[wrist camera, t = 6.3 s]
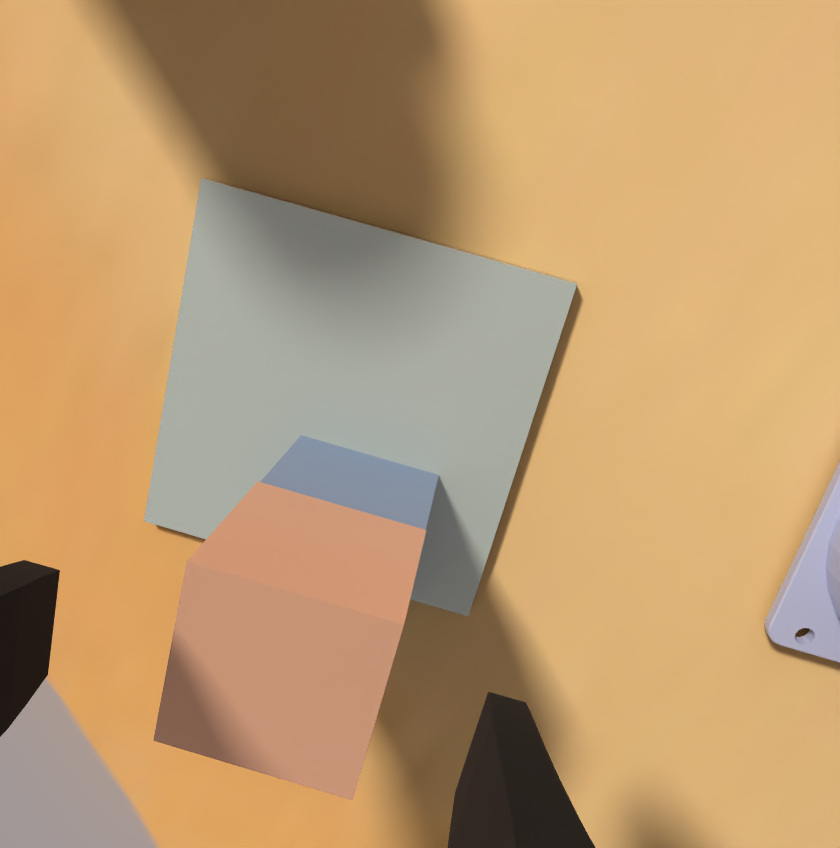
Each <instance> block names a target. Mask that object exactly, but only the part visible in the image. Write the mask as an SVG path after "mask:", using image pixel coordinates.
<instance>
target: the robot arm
mask: <svg viewBox="0 0 840 848" xmlns="http://www.w3.org/2000/svg"><path fill="white" fill-rule="evenodd" d="M59 572H60V570H57V569H54V568H50V567H47V566H43V565H40V564H36V563H32V562H29V561H25V560H23V561H20V562H16V563H12V564H8V565H5V566H2V567H0V736H1V735H2V734H3V733H4V732H5V731H6V730H7V729H8V728H9V726H10V725H11V724H12V722H13V721H14V720H15V719H16V717H17V716H18V714H19V713H20V712H21V711H22V709H23V708H24V707H25V705H26V704H27V703H28V701H29V700H30V699H31V697H32V696H33V694H34V693H35V691H36V690H37V689H38V688H39V686H40V685H41V683H42V682H43V680H44V679H45V678H46V676H47V675H48V668H49V660H50V651H51V642H52V634H53V625H54V616H55V607H56V599H57V590H58V581H59ZM764 626H765V630H766V633H767V634H768V636H769V637H770V639H771V640H772V641H773V642H774V643H776V644H778V645H780V646H784V647H787V648H791V649H794V650H797V651H801V652H804V653H808V654H811V655H815V656H818V657H821V658H825V659H828V660H832V661H835V662H839V663H840V462H839V464H838V466H837V468H836V470H835V473H834V475H833V477H832V479H831V481H830V483H829V485H828V487H827V490H826V492H825V494H824V496H823V498H822V500H821V502H820V505H819V507H818V509H817V511H816V513H815V515H814V517H813V520H812V522H811V524H810V526H809V528H808V530H807V532H806V534H805V537H804V539H803V541H802V543H801V545H800V547H799V549H798V552H797V554H796V556H795V558H794V560H793V562H792V564H791V567H790V569H789V571H788V573H787V575H786V577H785V579H784V581H783V584H782V586H781V588H780V590H779V592H778V594H777V596H776V599H775V601H774V603H773V605H772V607H771V609H770V611H769V614H768V616H767V618H766V620H765V625H764ZM802 628H809V632H808V633H807V634H806V635H804V636H802V637H795V634H796V632H797V631H798V630H800V629H802ZM448 848H595V846H594V844H593V843H592V841H591V839H590V837H589V836H588V834H587V832H586V830H585V828H584V826H583V824H582V823H581V821H580V819H579V817H578V815H577V813H576V811H575V809H574V807H573V805H572V803H571V801H570V799H569V797H568V795H567V793H566V791H565V789H564V787H563V785H562V783H561V781H560V779H559V776H558V774H557V772H556V770H555V768H554V766H553V763H552V761H551V759H550V757H549V754H548V752H547V750H546V748H545V745H544V743H543V741H542V738H541V736H540V734H539V731H538V729H537V726H536V724H535V722H534V719H533V717H532V714H531V712H530V710H529V708H528V706H527V704H526V703H525V702H522V701H518V700H515V699H511V698H508V697H504V696H501V695H497V694H494V693H490V692H488V695H487V698H486V701H485V704H484V707H483V710H482V713H481V716H480V719H479V722H478V725H477V728H476V731H475V734H474V737H473V740H472V743H471V746H470V749H469V752H468V755H467V758H466V761H465V764H464V767H463V770H462V774H461V777H460V780H459V783H458V786H457V789H456V792H455V798H454V805H453V812H452V819H451V826H450V833H449V841H448Z"/></svg>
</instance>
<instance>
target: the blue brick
mask: <svg viewBox="0 0 840 848" xmlns="http://www.w3.org/2000/svg"><path fill="white" fill-rule="evenodd" d="M438 476H439V475H437V474H434V473H430V472H427V471H423V470H420V469H416V468H413V467H409V466H406V465H403V464H399V463H396V462H392V461H389V460H385V459H382V458H378V457H375V456H371V455H368V454H365V453H361V452H358V451H354V450H351V449H347V448H344V447H340V446H337V445H333V444H330V443H327V442H323V441H320V440H316V439H313V438H309V437H306V436H302V435H301V436H300V437H299V438H298V439H297V441H296V442H295V443H294V444H293V445H292V446H291V447H290V448H289V450H288V451H287V452H286V453H285V454H284V455H283V456H282V458H281V459H280V460H279V461H278V462H277V463H276V464H275V466H274V467H273V468H272V469H271V470H270V471H269V472H268V474H267V475H266V476H265V477H264V478H263V479H262V480H261V481H260V482H262V483H265V484H269V485H272V486H276V487H279V488H283V489H286V490H289V491H293V492H296V493H300V494H303V495H307V496H310V497H314V498H317V499H321V500H324V501H328V502H331V503H334V504H338V505H341V506H345V507H348V508H352V509H355V510H359V511H362V512H366V513H369V514H373V515H376V516H379V517H383V518H386V519H390V520H393V521H397V522H400V523H404V524H407V525H411V526H414V527H418V528H421V529H424V530H426V526H427V522H428V518H429V514H430V510H431V506H432V501H433V497H434V493H435V489H436V485H437V481H438Z"/></svg>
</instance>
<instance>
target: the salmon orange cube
mask: <svg viewBox="0 0 840 848" xmlns="http://www.w3.org/2000/svg"><path fill="white" fill-rule="evenodd" d="M425 534H426V530H424V529H421V528H418V527H414V526H411V525H407V524H404V523H400V522H397V521H393V520H390V519H386V518H383V517H379V516H376V515H373V514H369V513H366V512H362V511H359V510H355V509H352V508H348V507H345V506H341V505H338V504H334V503H331V502H328V501H324V500H321V499H317V498H314V497H310V496H307V495H303V494H300V493H296V492H293V491H289V490H286V489H283V488H279V487H276V486H272V485H269V484H265V483H262V482H257V483H256V484H255V485H254V486H253V487H252V488H251V490H250V491H249V492H248V493H247V494H246V495H245V496H244V497H243V499H242V500H241V501H240V502H239V503H238V504H237V505H236V506H235V508H234V509H233V510H232V511H231V512H230V513H229V514H228V515H227V517H226V518H225V519H224V520H223V521H222V522H221V523H220V524H219V525H218V527H217V528H216V529H215V530H214V531H213V532H212V533H211V534H210V536H209V537H208V538H207V539H206V540H205V541H204V542H203V543H202V545H201V546H200V547H199V548H198V549H197V550H196V551H195V552H194V554H193V555H192V556H191V557H190V558H189V559H188V560H187V563H186V569H185V574H184V580H183V585H182V590H181V596H180V601H179V606H178V612H177V617H176V623H175V628H174V633H173V639H172V644H171V649H170V655H169V660H168V665H167V671H166V676H165V682H164V687H163V692H162V698H161V703H160V708H159V714H158V719H157V724H156V730H155V735H154V741H157V742H160V743H163V744H167V745H170V746H173V747H177V748H180V749H183V750H187V751H190V752H193V753H197V754H200V755H203V756H207V757H210V758H213V759H217V760H220V761H223V762H227V763H230V764H233V765H237V766H240V767H243V768H247V769H250V770H253V771H257V772H260V773H263V774H267V775H270V776H273V777H277V778H280V779H283V780H287V781H290V782H293V783H297V784H300V785H303V786H307V787H310V788H313V789H317V790H320V791H323V792H327V793H330V794H333V795H337V796H340V797H343V798H347V799H350V800H353V796H354V793H355V790H356V786H357V783H358V779H359V776H360V773H361V769H362V766H363V762H364V759H365V756H366V752H367V749H368V745H369V742H370V739H371V735H372V732H373V728H374V725H375V722H376V718H377V715H378V712H379V708H380V705H381V701H382V698H383V695H384V691H385V688H386V684H387V681H388V678H389V674H390V671H391V667H392V664H393V661H394V657H395V654H396V650H397V647H398V644H399V640H400V637H401V633H402V630H403V627H404V623H405V619H406V615H407V610H408V606H409V602H410V598H411V593H412V589H413V585H414V581H415V577H416V572H417V568H418V564H419V560H420V555H421V551H422V547H423V543H424V539H425Z"/></svg>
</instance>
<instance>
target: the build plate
mask: <svg viewBox="0 0 840 848" xmlns="http://www.w3.org/2000/svg"><path fill="white" fill-rule="evenodd" d="M576 286H577V283H576V282H572V281H568V280H565V279H561V278H558V277H554V276H551V275H547V274H544V273H540V272H536V271H533V270H529V269H526V268H522V267H519V266H515V265H512V264H508V263H504V262H501V261H497V260H494V259H490V258H487V257H483V256H480V255H476V254H472V253H469V252H465V251H462V250H458V249H455V248H451V247H448V246H444V245H440V244H437V243H433V242H430V241H426V240H423V239H419V238H416V237H412V236H408V235H405V234H401V233H398V232H394V231H391V230H387V229H384V228H380V227H376V226H373V225H369V224H366V223H362V222H359V221H355V220H351V219H348V218H344V217H341V216H337V215H334V214H330V213H327V212H323V211H319V210H316V209H312V208H309V207H305V206H302V205H298V204H295V203H291V202H287V201H284V200H280V199H277V198H273V197H270V196H266V195H263V194H259V193H255V192H252V191H248V190H245V189H241V188H238V187H234V186H231V185H227V184H223V183H220V182H216V181H213V180H209V179H202V178H201V183H200V189H199V195H198V201H197V207H196V213H195V219H194V225H193V231H192V237H191V243H190V249H189V255H188V261H187V267H186V273H185V279H184V285H183V291H182V297H181V303H180V309H179V315H178V321H177V327H176V333H175V339H174V345H173V351H172V357H171V363H170V369H169V375H168V381H167V387H166V393H165V399H164V405H163V411H162V417H161V423H160V429H159V435H158V441H157V447H156V453H155V459H154V465H153V471H152V477H151V483H150V489H149V495H148V501H147V507H146V513H145V519H144V521H145V522H149V523H152V524H155V525H159V526H162V527H166V528H169V529H172V530H176V531H179V532H183V533H186V534H189V535H193V536H196V537H199V538H203V539H207V538H208V537H209V536H210V534H211V533H212V532H213V531H214V530H215V529H216V528H217V527H218V525H219V524H220V523H221V522H222V521H223V520H224V519H225V518H226V517H227V515H228V514H229V513H230V512H231V511H232V510H233V509H234V508H235V506H236V505H237V504H238V503H239V502H240V501H241V500H242V499H243V497H244V496H245V495H246V494H247V493H248V492H249V491H250V490H251V488H252V487H253V486H254V485H255V484H256V483H257V482H260V481H261V480H262V479H263V478H264V477H265V476H266V475H267V474H268V472H269V471H270V470H271V469H272V468H273V467H274V466H275V464H276V463H277V462H278V461H279V460H280V459H281V458H282V456H283V455H284V454H285V453H286V452H287V451H288V450H289V448H290V447H291V446H292V445H293V444H294V443H295V442H296V441H297V439H298V438H299V437H300V436H301V435H302V436H306V437H309V438H313V439H316V440H320V441H323V442H327V443H330V444H333V445H337V446H340V447H344V448H347V449H351V450H354V451H358V452H361V453H365V454H368V455H371V456H375V457H378V458H382V459H385V460H389V461H392V462H396V463H399V464H403V465H406V466H409V467H413V468H416V469H420V470H423V471H427V472H430V473H434V474H437V475H439V476H438V481H437V485H436V489H435V493H434V497H433V501H432V506H431V510H430V514H429V518H428V522H427V526H426V534H425V539H424V543H423V547H422V551H421V555H420V560H419V564H418V568H417V572H416V577H415V581H414V585H413V589H412V593H411V598H410V600H413V601H417V602H420V603H424V604H427V605H430V606H434V607H437V608H441V609H444V610H447V611H451V612H454V613H458V614H461V615H464V616H469V613H470V610H471V607H472V604H473V601H474V598H475V595H476V592H477V589H478V586H479V583H480V580H481V577H482V574H483V570H484V567H485V564H486V561H487V558H488V555H489V552H490V549H491V546H492V543H493V540H494V537H495V534H496V531H497V528H498V525H499V522H500V519H501V515H502V512H503V509H504V506H505V503H506V500H507V497H508V494H509V491H510V488H511V485H512V482H513V479H514V476H515V473H516V470H517V467H518V464H519V460H520V457H521V454H522V451H523V448H524V445H525V442H526V439H527V436H528V433H529V430H530V427H531V424H532V421H533V418H534V415H535V412H536V409H537V405H538V402H539V399H540V396H541V393H542V390H543V387H544V384H545V381H546V378H547V375H548V372H549V369H550V366H551V363H552V360H553V357H554V354H555V350H556V347H557V344H558V341H559V338H560V335H561V332H562V329H563V326H564V323H565V320H566V317H567V314H568V311H569V308H570V305H571V302H572V299H573V295H574V292H575V289H576Z"/></svg>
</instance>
